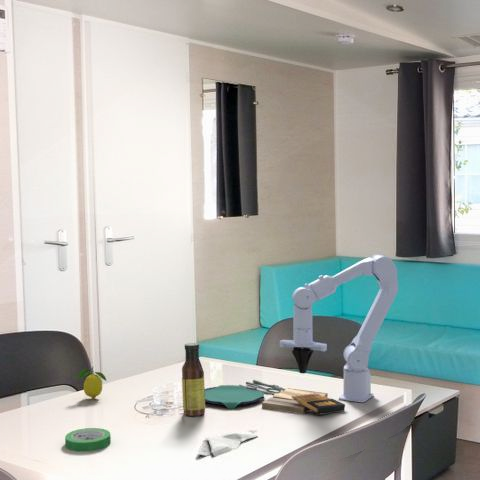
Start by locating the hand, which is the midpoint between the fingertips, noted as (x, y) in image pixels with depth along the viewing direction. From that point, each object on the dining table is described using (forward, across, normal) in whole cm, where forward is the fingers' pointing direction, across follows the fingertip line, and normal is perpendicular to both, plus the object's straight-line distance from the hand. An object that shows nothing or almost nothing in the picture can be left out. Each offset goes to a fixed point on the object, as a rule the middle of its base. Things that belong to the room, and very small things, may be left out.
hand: (303, 372), depth 234 cm
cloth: (+9, -1, -46) cm, 47 cm away
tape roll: (+8, -31, -62) cm, 70 cm away
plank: (+8, 0, -2) cm, 8 cm away
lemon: (+8, -56, -30) cm, 64 cm away
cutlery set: (+8, -18, -6) cm, 21 cm away
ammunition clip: (+7, +14, -11) cm, 19 cm away
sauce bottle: (+8, -21, -28) cm, 36 cm away
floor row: (+8, 0, -12) cm, 14 cm away
